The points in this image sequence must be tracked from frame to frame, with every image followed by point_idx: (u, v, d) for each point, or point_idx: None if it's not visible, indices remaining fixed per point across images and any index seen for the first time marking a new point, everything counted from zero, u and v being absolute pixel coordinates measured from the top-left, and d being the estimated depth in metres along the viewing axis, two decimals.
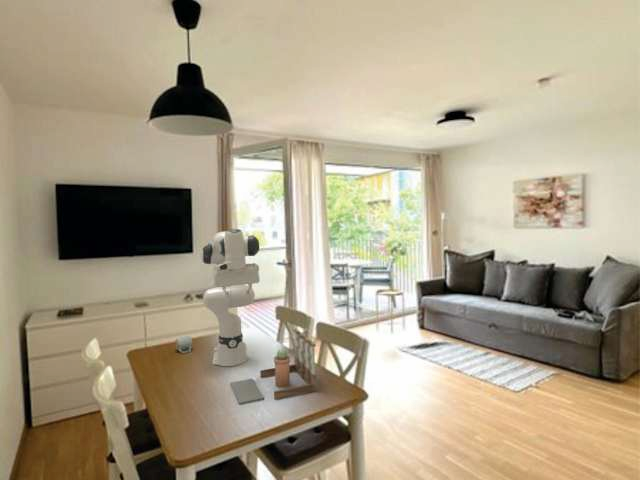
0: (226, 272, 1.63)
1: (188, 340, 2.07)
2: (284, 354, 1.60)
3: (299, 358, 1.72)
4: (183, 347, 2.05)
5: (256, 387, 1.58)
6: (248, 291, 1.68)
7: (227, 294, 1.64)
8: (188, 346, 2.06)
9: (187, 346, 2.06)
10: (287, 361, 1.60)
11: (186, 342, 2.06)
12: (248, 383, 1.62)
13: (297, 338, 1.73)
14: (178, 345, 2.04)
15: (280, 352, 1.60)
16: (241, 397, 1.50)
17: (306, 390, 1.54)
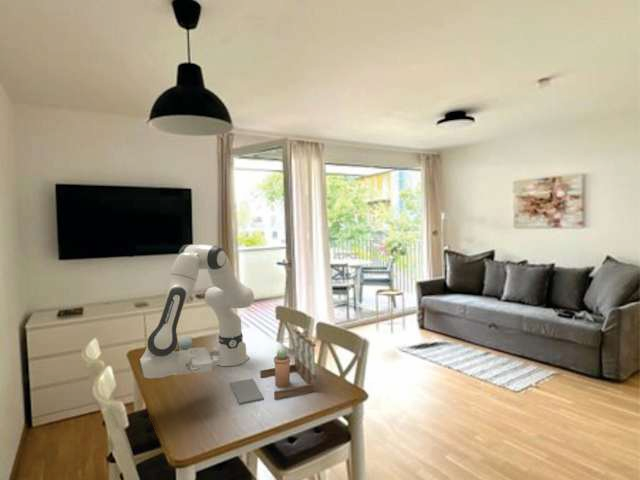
0: None
1: (188, 340, 2.07)
2: (284, 354, 1.60)
3: (299, 358, 1.72)
4: (183, 347, 2.05)
5: (256, 387, 1.58)
6: None
7: None
8: (188, 346, 2.06)
9: (187, 346, 2.06)
10: (287, 361, 1.60)
11: (186, 342, 2.06)
12: (248, 383, 1.62)
13: (297, 338, 1.73)
14: (178, 345, 2.04)
15: (280, 352, 1.60)
16: (241, 397, 1.50)
17: (306, 390, 1.54)
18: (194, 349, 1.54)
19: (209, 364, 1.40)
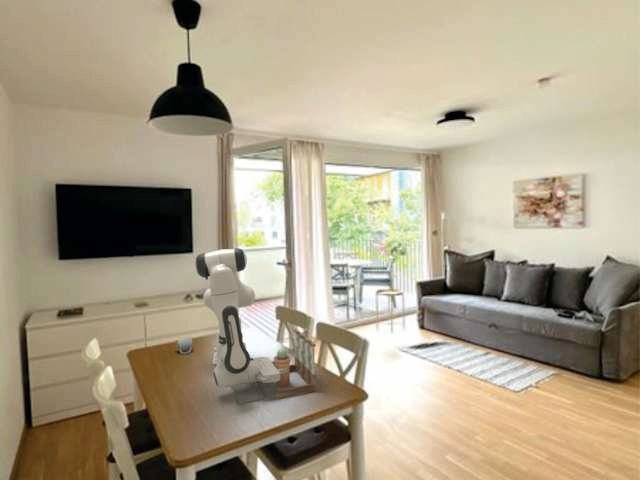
0: None
1: (189, 340, 2.06)
2: (284, 354, 1.60)
3: (299, 358, 1.72)
4: (183, 348, 2.04)
5: (256, 387, 1.58)
6: None
7: None
8: (188, 347, 2.05)
9: (187, 347, 2.05)
10: (287, 361, 1.60)
11: (186, 343, 2.05)
12: None
13: (297, 338, 1.73)
14: (178, 346, 2.03)
15: (280, 352, 1.60)
16: (241, 397, 1.50)
17: (306, 390, 1.54)
18: (258, 359, 1.66)
19: (277, 374, 1.51)
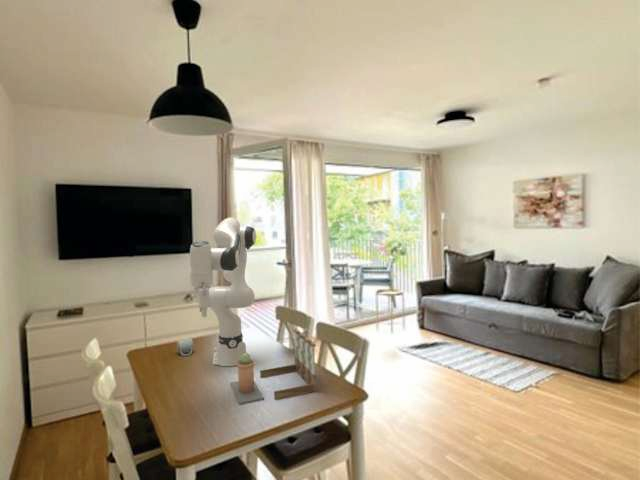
0: None
1: (189, 342, 2.03)
2: (247, 358, 1.54)
3: (299, 358, 1.72)
4: (184, 350, 2.01)
5: (256, 387, 1.58)
6: None
7: None
8: (189, 349, 2.02)
9: (188, 349, 2.02)
10: (250, 365, 1.53)
11: (187, 345, 2.02)
12: None
13: (297, 338, 1.73)
14: (179, 348, 2.00)
15: (243, 356, 1.54)
16: (241, 397, 1.50)
17: (306, 390, 1.54)
18: None
19: (208, 304, 1.44)
